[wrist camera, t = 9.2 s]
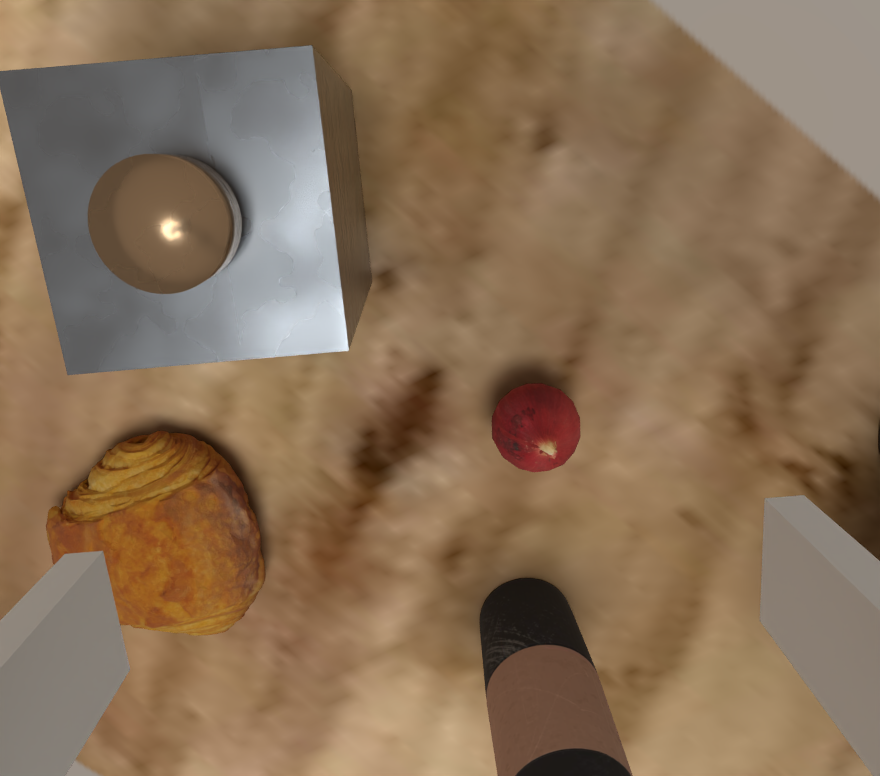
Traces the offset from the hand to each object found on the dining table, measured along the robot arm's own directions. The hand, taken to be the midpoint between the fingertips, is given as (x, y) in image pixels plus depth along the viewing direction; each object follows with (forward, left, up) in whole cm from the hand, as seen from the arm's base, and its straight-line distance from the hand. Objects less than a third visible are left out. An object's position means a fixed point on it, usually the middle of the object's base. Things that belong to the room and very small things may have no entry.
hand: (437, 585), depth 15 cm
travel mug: (-6, +26, -37) cm, 46 cm away
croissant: (+20, +16, -38) cm, 45 cm away
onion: (-7, +9, -37) cm, 39 cm away
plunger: (+9, -7, -35) cm, 37 cm away
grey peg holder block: (+9, -7, -37) cm, 39 cm away
